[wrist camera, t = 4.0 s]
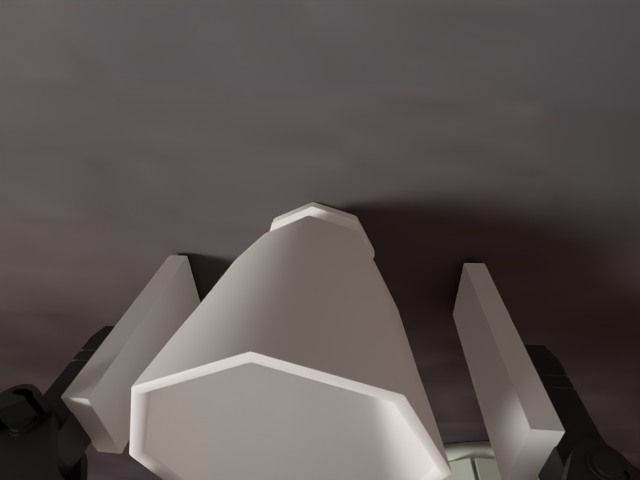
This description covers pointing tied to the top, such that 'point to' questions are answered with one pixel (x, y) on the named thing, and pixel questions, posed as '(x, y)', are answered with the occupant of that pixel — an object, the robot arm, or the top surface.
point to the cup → (290, 370)
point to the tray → (472, 461)
